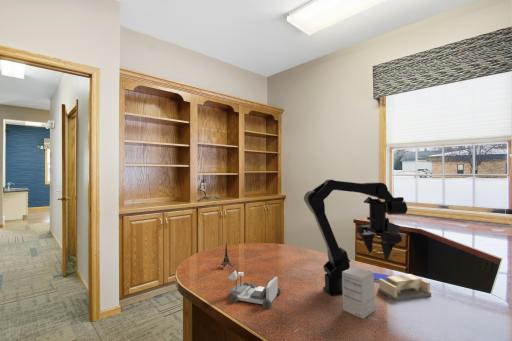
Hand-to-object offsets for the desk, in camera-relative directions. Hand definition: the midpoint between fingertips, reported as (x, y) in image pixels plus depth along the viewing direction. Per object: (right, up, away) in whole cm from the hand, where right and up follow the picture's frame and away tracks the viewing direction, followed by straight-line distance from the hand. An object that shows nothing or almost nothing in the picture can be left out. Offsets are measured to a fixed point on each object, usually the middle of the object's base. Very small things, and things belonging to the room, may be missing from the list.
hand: (378, 255), depth 102 cm
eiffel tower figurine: (-61, -15, +27) cm, 69 cm away
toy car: (-48, -14, -5) cm, 50 cm away
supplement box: (-14, -13, -16) cm, 25 cm away
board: (+8, -10, -3) cm, 13 cm away
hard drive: (+8, -14, +9) cm, 18 cm away
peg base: (+8, -13, -3) cm, 15 cm away
